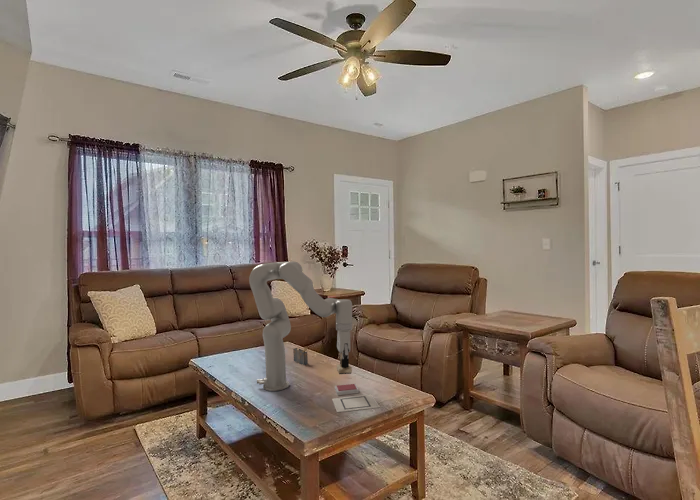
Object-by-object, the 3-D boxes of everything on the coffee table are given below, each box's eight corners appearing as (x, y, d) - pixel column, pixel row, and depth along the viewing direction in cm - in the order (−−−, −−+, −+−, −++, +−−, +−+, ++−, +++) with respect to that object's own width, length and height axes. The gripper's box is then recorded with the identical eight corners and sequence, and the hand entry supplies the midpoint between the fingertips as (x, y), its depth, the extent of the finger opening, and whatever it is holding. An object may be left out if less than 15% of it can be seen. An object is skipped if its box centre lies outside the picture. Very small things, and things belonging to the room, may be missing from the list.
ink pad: (337, 395, 181) (337, 391, 181) (334, 388, 189) (334, 385, 189) (359, 392, 183) (358, 389, 183) (355, 386, 191) (355, 383, 191)
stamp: (338, 374, 182) (339, 353, 182) (336, 370, 188) (337, 349, 188) (351, 373, 184) (352, 352, 183) (349, 369, 190) (349, 349, 189)
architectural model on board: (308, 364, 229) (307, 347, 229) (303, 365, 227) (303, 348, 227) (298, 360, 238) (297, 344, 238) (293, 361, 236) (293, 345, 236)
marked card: (336, 412, 163) (336, 411, 163) (332, 399, 177) (332, 398, 177) (379, 407, 166) (379, 406, 166) (371, 395, 180) (371, 394, 180)
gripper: (333, 323, 193) (333, 360, 193) (338, 330, 176) (339, 372, 177) (348, 322, 194) (348, 359, 195) (355, 330, 178) (355, 371, 178)
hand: (344, 365), depth 186 cm, fingers closed on stamp, 3 cm apart
